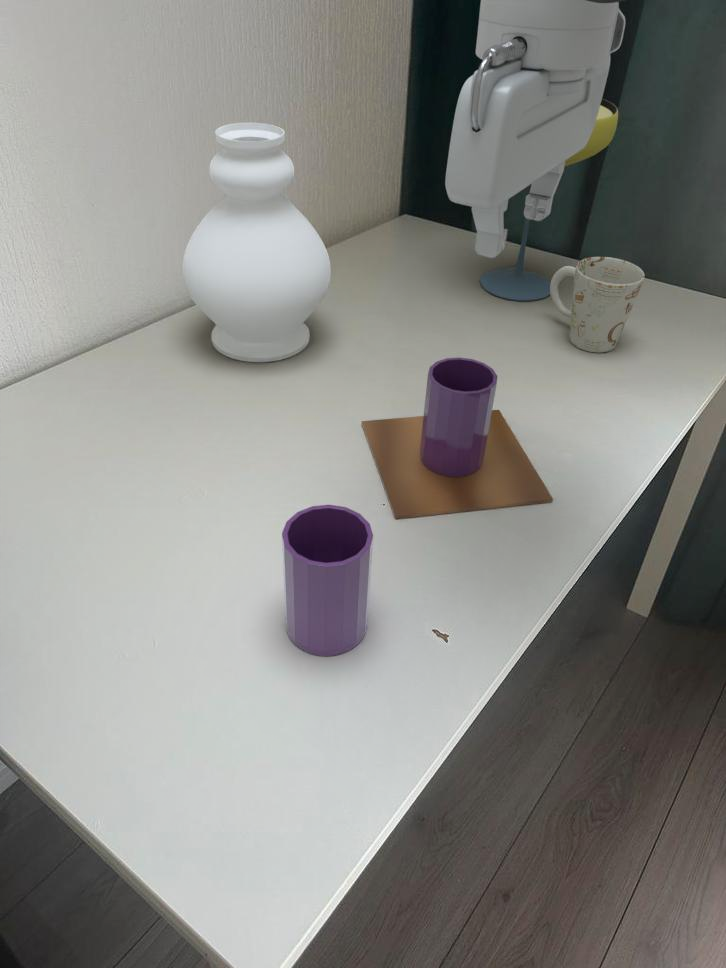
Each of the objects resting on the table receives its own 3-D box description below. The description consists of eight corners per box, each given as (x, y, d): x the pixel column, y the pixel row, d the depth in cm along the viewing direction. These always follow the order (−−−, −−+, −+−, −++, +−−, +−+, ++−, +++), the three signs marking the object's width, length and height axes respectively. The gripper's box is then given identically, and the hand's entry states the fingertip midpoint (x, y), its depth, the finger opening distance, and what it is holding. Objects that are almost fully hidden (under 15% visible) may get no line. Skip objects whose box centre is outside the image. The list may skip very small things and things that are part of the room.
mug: (599, 364, 98) (619, 290, 91) (522, 326, 105) (535, 256, 98) (637, 344, 102) (658, 272, 96) (560, 310, 109) (575, 241, 103)
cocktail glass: (444, 300, 110) (465, 111, 94) (468, 253, 124) (490, 81, 108) (572, 322, 106) (616, 128, 91) (582, 271, 120) (623, 95, 104)
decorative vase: (224, 298, 108) (208, 104, 92) (346, 318, 105) (351, 120, 89) (166, 359, 95) (135, 144, 79) (303, 384, 91) (300, 165, 75)
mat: (498, 412, 88) (499, 409, 88) (552, 502, 76) (553, 499, 76) (361, 423, 85) (361, 420, 85) (394, 519, 73) (395, 516, 73)
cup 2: (471, 436, 84) (484, 355, 77) (491, 474, 79) (506, 390, 72) (412, 442, 82) (420, 360, 76) (429, 480, 77) (439, 396, 71)
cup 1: (358, 589, 66) (362, 500, 60) (374, 650, 61) (381, 560, 55) (281, 599, 65) (277, 509, 59) (291, 661, 60) (288, 571, 54)
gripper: (531, 56, 43) (498, 290, 52) (633, 19, 57) (593, 207, 66) (431, 44, 46) (415, 268, 54) (551, 11, 60) (524, 193, 68)
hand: (513, 234), depth 60 cm, fingers open, 8 cm apart
